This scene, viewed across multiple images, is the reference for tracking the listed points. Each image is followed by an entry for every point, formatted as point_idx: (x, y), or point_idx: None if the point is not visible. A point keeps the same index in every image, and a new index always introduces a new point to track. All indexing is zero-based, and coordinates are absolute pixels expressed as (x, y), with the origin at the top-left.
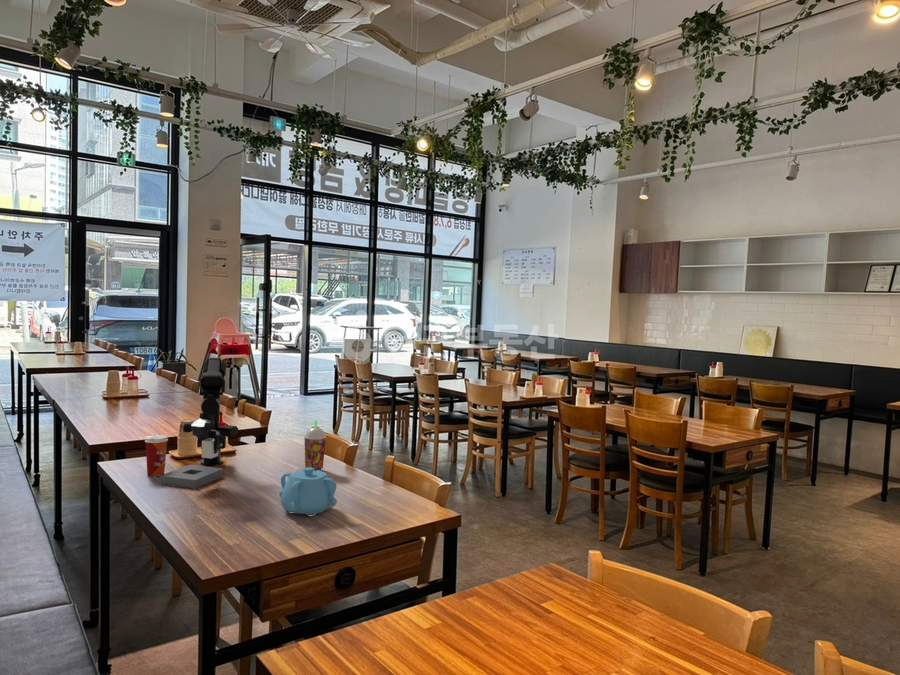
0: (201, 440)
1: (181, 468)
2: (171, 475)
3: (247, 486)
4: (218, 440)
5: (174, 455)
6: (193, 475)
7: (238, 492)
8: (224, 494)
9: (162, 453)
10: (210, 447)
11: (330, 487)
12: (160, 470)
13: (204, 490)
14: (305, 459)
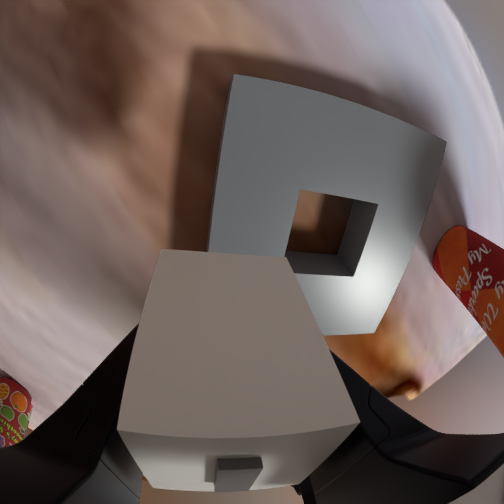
0: (370, 426)
1: (394, 276)
2: (407, 149)
3: (21, 207)
4: (25, 442)
5: (414, 393)
6: (295, 170)
7: (10, 114)
8: (46, 59)
9: (496, 292)
10: (162, 341)
11: None
12: (454, 249)
13: (163, 68)
14: (11, 410)
